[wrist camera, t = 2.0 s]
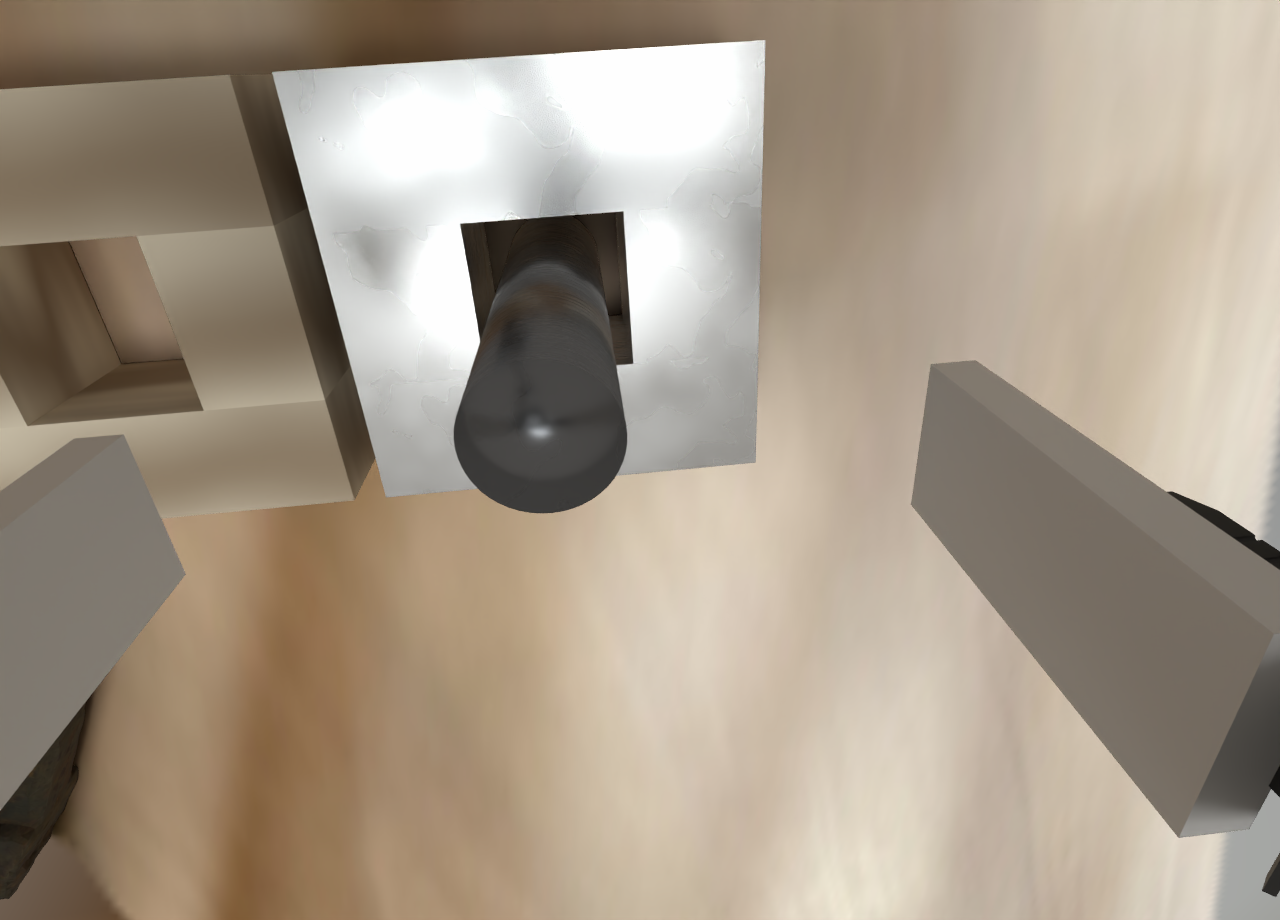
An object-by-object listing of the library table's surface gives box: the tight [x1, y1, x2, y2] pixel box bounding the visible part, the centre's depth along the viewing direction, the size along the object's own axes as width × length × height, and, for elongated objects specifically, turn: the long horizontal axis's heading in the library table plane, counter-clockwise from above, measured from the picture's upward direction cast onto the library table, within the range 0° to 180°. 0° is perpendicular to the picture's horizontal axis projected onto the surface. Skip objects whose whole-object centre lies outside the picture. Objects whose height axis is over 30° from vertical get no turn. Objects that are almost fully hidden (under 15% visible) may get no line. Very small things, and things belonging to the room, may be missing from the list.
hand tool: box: [0, 702, 86, 899], centre depth 30 cm, size 19×4×5 cm, turn 153°
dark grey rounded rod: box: [454, 215, 627, 513], centre depth 19 cm, size 3×3×14 cm
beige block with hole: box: [0, 74, 375, 518], centre depth 22 cm, size 12×12×5 cm
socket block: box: [272, 40, 765, 497], centre depth 23 cm, size 12×12×5 cm
